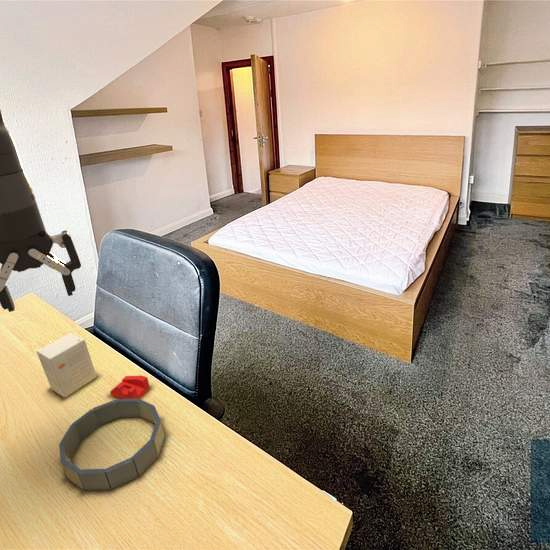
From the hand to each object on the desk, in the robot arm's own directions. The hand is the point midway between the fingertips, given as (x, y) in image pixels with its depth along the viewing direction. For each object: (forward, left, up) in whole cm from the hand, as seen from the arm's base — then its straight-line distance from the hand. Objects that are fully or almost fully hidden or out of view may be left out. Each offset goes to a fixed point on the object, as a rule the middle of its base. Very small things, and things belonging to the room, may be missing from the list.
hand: (41, 301), depth 66 cm
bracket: (+9, +6, -28) cm, 30 cm away
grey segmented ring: (+4, -8, -28) cm, 29 cm away
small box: (-1, +16, -28) cm, 33 cm away
